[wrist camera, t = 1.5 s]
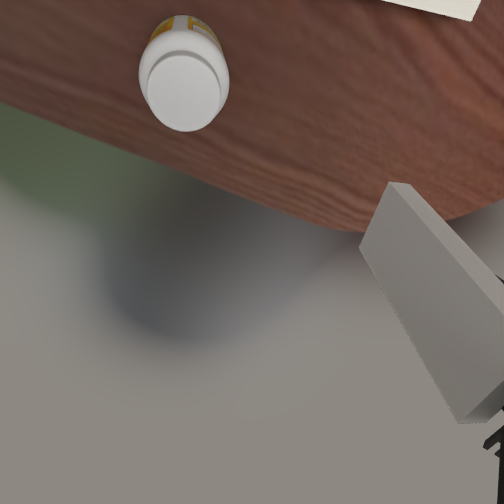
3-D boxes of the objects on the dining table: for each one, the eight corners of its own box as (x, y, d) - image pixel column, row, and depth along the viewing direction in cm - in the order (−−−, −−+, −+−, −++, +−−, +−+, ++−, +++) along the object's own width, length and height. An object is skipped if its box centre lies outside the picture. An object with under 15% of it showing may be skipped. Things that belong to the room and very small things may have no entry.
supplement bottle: (154, 95, 29) (141, 146, 21) (142, 14, 25) (121, 39, 18) (223, 94, 29) (234, 142, 22) (220, 14, 26) (232, 39, 18)
